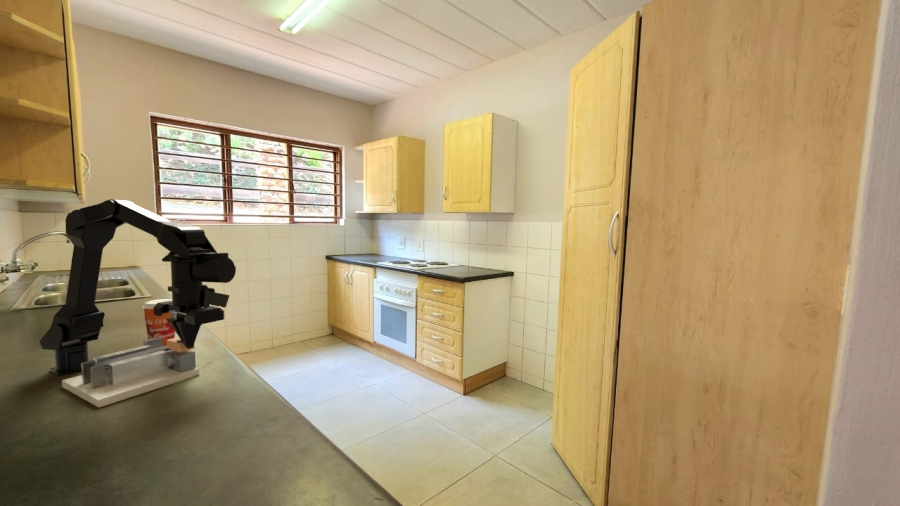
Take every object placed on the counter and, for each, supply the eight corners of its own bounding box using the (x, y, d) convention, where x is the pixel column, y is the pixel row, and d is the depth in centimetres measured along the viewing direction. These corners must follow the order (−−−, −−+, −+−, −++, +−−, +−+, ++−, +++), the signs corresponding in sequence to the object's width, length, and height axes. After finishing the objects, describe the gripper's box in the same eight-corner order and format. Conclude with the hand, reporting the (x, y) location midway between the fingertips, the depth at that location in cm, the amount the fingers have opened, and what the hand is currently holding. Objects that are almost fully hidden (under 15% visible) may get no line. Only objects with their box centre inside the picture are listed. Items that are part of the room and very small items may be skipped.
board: (62, 386, 79) (61, 380, 79) (159, 360, 95) (159, 355, 95) (98, 407, 70) (98, 400, 70) (199, 374, 86) (199, 368, 86)
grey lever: (92, 368, 77) (91, 364, 77) (172, 346, 91) (172, 343, 91) (98, 370, 76) (97, 367, 76) (178, 348, 89) (178, 345, 89)
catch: (166, 348, 86) (166, 337, 86) (181, 344, 88) (180, 334, 88) (180, 352, 83) (179, 341, 83) (194, 348, 85) (194, 337, 85)
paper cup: (141, 355, 99) (138, 304, 98) (148, 347, 105) (146, 299, 104) (176, 351, 102) (174, 302, 101) (181, 343, 109) (179, 297, 108)
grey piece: (72, 378, 80) (70, 356, 79) (159, 355, 94) (158, 336, 94) (106, 395, 72) (104, 371, 71) (195, 368, 86) (194, 347, 86)
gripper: (246, 280, 85) (248, 344, 86) (202, 274, 94) (204, 333, 95) (194, 286, 75) (197, 359, 76) (151, 279, 84) (154, 345, 85)
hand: (189, 347), depth 84 cm, fingers closed
